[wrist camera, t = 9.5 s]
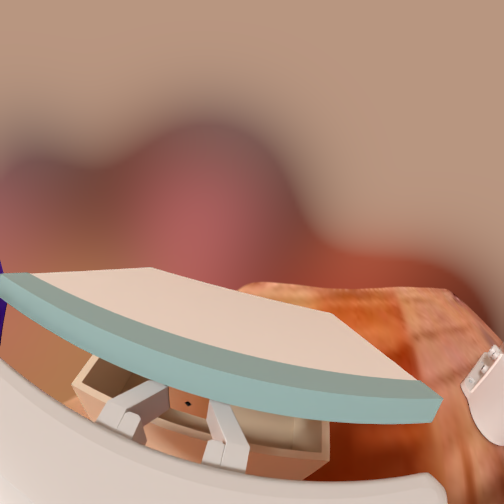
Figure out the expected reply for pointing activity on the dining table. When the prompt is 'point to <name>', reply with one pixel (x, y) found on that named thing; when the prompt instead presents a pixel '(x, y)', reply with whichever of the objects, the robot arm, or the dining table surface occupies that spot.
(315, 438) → the box
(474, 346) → the dining table surface
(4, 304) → the bracket
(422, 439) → the dining table surface
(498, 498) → the dining table surface
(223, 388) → the lid
